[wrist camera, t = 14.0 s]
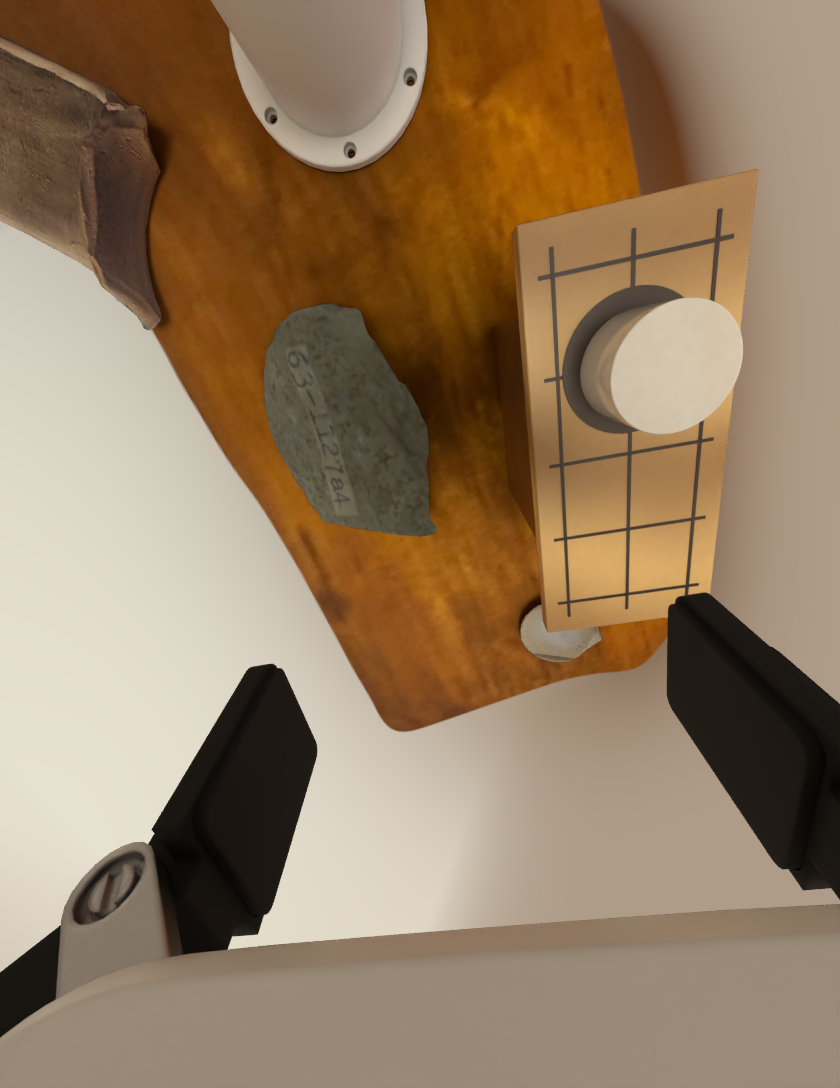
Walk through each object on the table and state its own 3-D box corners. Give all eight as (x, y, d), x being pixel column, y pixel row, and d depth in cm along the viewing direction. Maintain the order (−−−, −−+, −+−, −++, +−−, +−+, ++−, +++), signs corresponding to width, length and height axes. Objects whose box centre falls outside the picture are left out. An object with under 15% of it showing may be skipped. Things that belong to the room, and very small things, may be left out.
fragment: (-87, 223, 30) (-9, 246, 34) (117, 327, 30) (167, 336, 34) (-95, -27, 25) (-2, 39, 29) (150, 100, 25) (204, 145, 29)
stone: (214, 342, 34) (374, 271, 27) (249, 338, 37) (398, 274, 31) (311, 553, 41) (452, 535, 35) (332, 532, 45) (465, 513, 38)
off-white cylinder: (578, 319, 18) (610, 312, 14) (692, 296, 17) (752, 283, 14) (581, 428, 20) (610, 444, 16) (684, 410, 19) (735, 422, 16)
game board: (475, 287, 33) (516, 223, 16) (593, 261, 32) (761, 166, 15) (502, 520, 41) (547, 634, 25) (596, 505, 40) (709, 613, 24)
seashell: (514, 595, 47) (526, 660, 48) (513, 605, 44) (526, 674, 45) (593, 586, 44) (603, 655, 46) (598, 596, 41) (608, 669, 43)
